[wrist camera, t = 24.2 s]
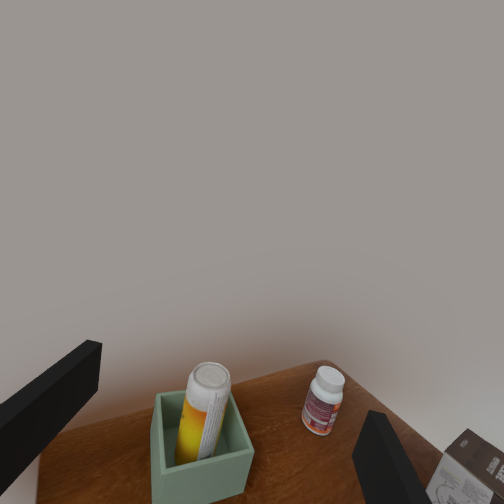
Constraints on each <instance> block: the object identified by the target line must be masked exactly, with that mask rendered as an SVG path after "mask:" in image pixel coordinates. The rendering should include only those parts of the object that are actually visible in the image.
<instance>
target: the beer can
mask: <svg viewBox="0 0 504 504" xmlns="http://www.w3.org/2000/svg"><path fill="white" fill-rule="evenodd" d="M230 388H231V380H230V374H229V372H228V370H227V369H226V368H225V367H224V366H222V365H221V364H218V363H215V362H204V363H201V364H199V365H197V366H196V367H195V368H194V370H193V372H192V373H191V374H190V376H189V379H188V384H187V389H186V395H185V400H184V405H183V410H182V415H181V420H180V426H179V431H178V436H177V441H176V446H175V452H174V459H175V462H176V465H177V466H179V465H183V464H187V463H192V462H196V461H200V460H204V459H208V458H212V457H214V456H215V451H216V447H217V443H218V439H219V435H220V430H221V426H222V422H223V418H224V414H225V409H226V405H227V401H228V397H229V393H230Z"/></svg>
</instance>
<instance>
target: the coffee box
mask: <svg viewBox="0 0 504 504" xmlns="http://www.w3.org/2000/svg"><path fill="white" fill-rule="evenodd" d="M426 492H427V494H428V496H429V498H430V500H431V502H432V504H504V453H503V452H502V451H500V450H499V449H497V448H496V447H494V446H493V445H491V444H490V443H488V442H487V441H485V440H484V439H482V438H481V437H479V436H478V435H477V434H475V433H474V432H472V431H471V430H469V429H467V430H466V431H464V432H463V433H462V434H461V435H460V436H459V437H458V438H457V439H456V440H455V441H454V442H453V443H452V444H451V445H450V446H449V447H448V448H447V449H446V450H445V451H444V454H443V456H442V458H441V460H440V462H439V464H438V466H437V468H436V470H435V472H434V474H433V476H432V478H431V480H430V482H429V484H428V486H427V488H426Z"/></svg>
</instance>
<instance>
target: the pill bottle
mask: <svg viewBox="0 0 504 504" xmlns="http://www.w3.org/2000/svg"><path fill="white" fill-rule="evenodd" d="M344 383H345V379H344V377H343V375H342V374H341V373H340V372H339V371H337V370H336V369H334V368H332V367H329V366H321V367H319V369H318V372H317V374H316V378H314V379H313V380H312V382H311V385H310V389H309V392H308V395H307V398H306V402H305V405H304V408H303V411H302V421H303V423H304V424H305V426H306V427H307V428H308V429H309V430H310V431H312V432H313V433H315V434H317V435H321V436H324V435H327V434H329V433H330V432H331V430H332V427H333V424H334V422H335V419H336V416H337V413H338V410H339V407H340V404H341V401H342V398H343V393H342V389H343V386H344Z"/></svg>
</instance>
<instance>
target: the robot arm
mask: <svg viewBox="0 0 504 504" xmlns="http://www.w3.org/2000/svg"><path fill="white" fill-rule="evenodd" d="M101 352H102V343H99V342H95V341H91V340H86V341H85V342H83V343H82V344H81V345H79V346H78V347H77V348H75V349H74V350H73V351H71V352H70V353H69V354H67V355H66V356H65V357H63V358H62V359H61V360H59V361H58V362H57V363H55V364H54V365H53V366H51V367H50V368H49V369H47V370H46V371H45V372H43V373H42V374H41V375H39V376H38V377H37V378H35V379H34V380H33V381H31V382H30V383H29V384H27V385H26V386H25V387H23V388H22V389H21V390H19V391H18V392H17V393H15V394H14V395H13V396H11V397H10V398H9V399H7V400H6V401H5V402H3V403H2V404H0V496H1V495H2V494H3V493H4V492H5V491H6V490H7V488H8V487H9V486H10V485H11V484H12V483H13V482H14V481H15V480H16V479H17V478H18V476H19V475H20V474H21V473H22V472H23V471H24V470H25V469H26V468H27V467H28V466H29V465H30V463H31V462H32V461H33V460H34V459H35V458H36V457H37V456H38V455H39V454H40V453H41V452H42V450H43V449H44V448H45V447H46V446H47V445H48V444H49V443H50V442H51V441H52V440H53V438H54V437H55V436H56V435H57V434H58V433H59V432H60V431H61V430H62V429H63V428H64V427H65V425H66V424H67V423H68V422H69V421H70V420H71V419H72V418H73V417H74V416H75V415H76V413H77V412H78V411H79V410H80V409H81V408H82V407H83V406H84V405H85V404H86V403H87V402H88V400H89V399H90V398H91V397H92V396H93V395H94V394H95V393H96V392H97V391H98V381H99V372H100V361H101ZM352 459H353V462H354V465H355V469H356V472H357V475H358V478H359V482H360V485H361V488H362V491H363V495H364V498H365V501H366V504H432V502H431V500H430V498H429V496H428V494H427V492H426V490H425V488H424V487H423V485H422V483H421V481H420V479H419V477H418V475H417V473H416V471H415V469H414V468H413V466H412V464H411V462H410V460H409V458H408V456H407V454H406V452H405V450H404V449H403V447H402V445H401V443H400V441H399V439H398V437H397V435H396V433H395V431H394V430H393V428H392V426H391V424H390V422H389V420H388V418H387V416H386V414H383V413H379V412H375V411H371V410H369V411H368V414H367V417H366V419H365V422H364V425H363V427H362V430H361V432H360V435H359V438H358V440H357V443H356V445H355V448H354V451H353V453H352Z"/></svg>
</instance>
